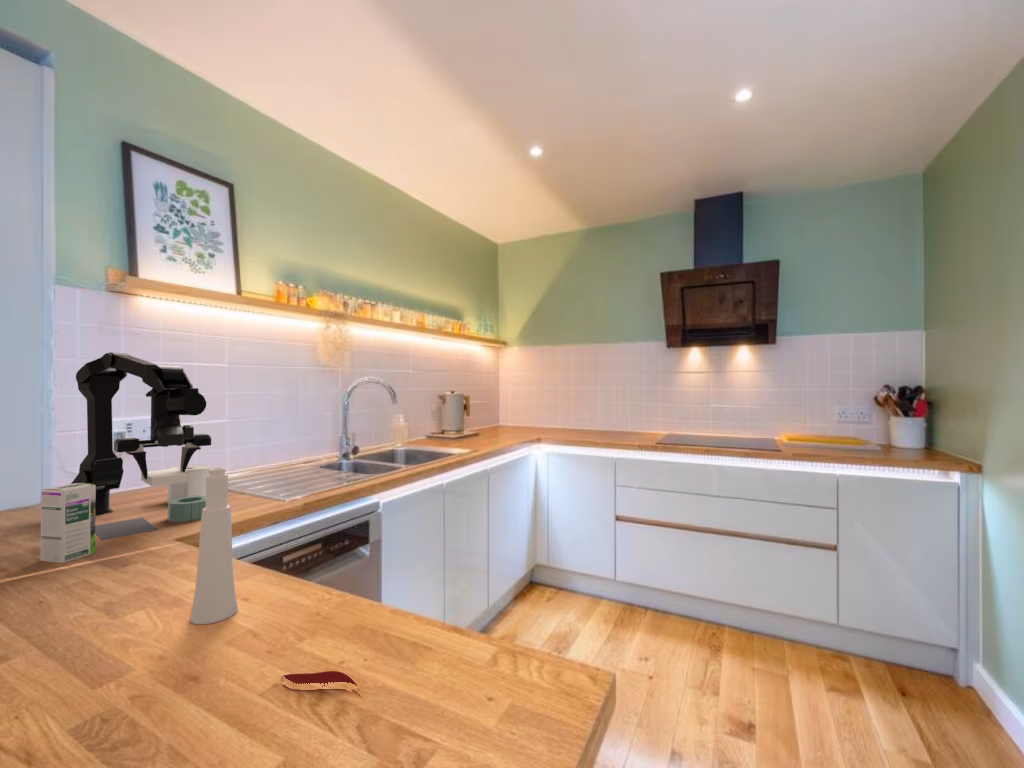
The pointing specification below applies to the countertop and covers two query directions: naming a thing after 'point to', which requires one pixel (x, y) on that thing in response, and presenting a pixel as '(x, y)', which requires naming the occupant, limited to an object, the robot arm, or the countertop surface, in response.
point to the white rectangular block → (165, 477)
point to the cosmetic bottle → (215, 555)
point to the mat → (123, 528)
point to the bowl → (186, 508)
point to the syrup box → (67, 522)
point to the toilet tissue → (190, 483)
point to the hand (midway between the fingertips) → (164, 476)
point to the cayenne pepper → (319, 677)
